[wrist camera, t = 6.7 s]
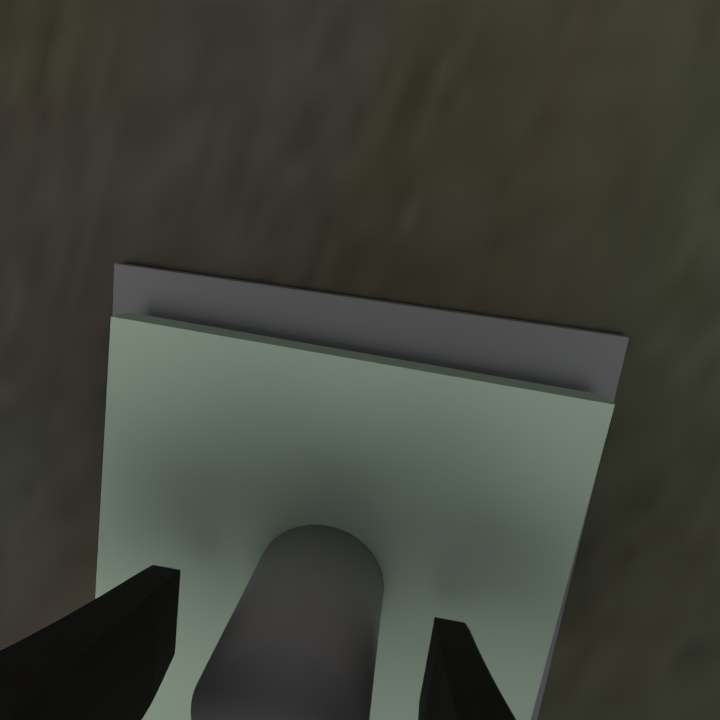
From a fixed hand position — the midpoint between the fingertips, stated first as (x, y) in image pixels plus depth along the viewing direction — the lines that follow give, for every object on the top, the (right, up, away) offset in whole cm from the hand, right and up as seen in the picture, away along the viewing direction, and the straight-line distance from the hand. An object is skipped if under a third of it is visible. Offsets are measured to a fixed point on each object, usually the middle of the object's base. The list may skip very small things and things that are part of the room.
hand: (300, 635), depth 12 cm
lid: (0, 0, +4) cm, 4 cm away
